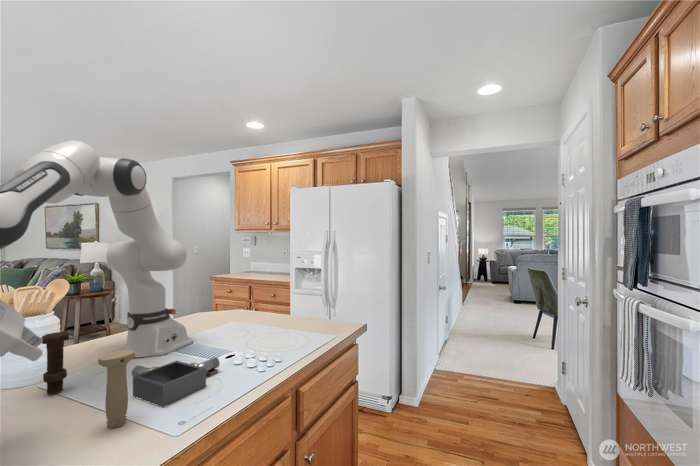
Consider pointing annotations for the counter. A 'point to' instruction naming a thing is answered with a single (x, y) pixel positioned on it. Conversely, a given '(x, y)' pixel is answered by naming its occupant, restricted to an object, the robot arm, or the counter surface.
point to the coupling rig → (171, 380)
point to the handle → (116, 386)
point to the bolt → (55, 361)
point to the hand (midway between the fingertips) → (39, 350)
